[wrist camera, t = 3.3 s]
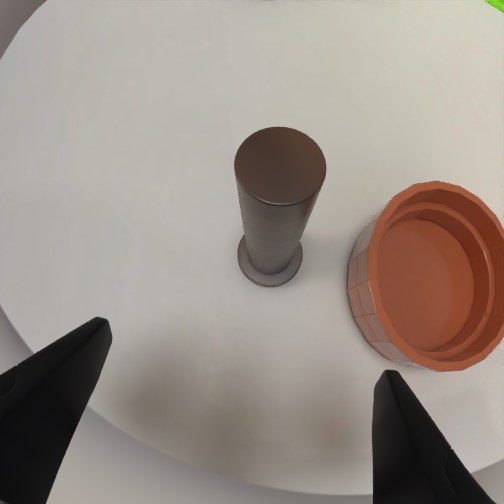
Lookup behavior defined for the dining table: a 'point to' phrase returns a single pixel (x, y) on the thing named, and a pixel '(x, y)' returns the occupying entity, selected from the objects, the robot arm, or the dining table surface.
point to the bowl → (430, 278)
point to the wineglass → (497, 4)
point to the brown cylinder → (276, 201)
